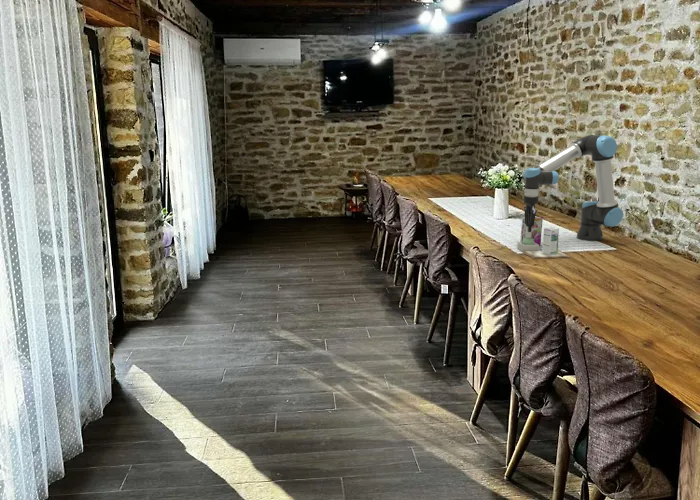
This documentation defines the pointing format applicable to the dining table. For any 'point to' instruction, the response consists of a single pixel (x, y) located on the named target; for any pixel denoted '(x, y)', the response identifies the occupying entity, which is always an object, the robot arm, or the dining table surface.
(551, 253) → the syrup box
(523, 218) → the candy bar box
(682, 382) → the dining table surface
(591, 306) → the dining table surface
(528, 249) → the button housing
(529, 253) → the drawing board
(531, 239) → the button
